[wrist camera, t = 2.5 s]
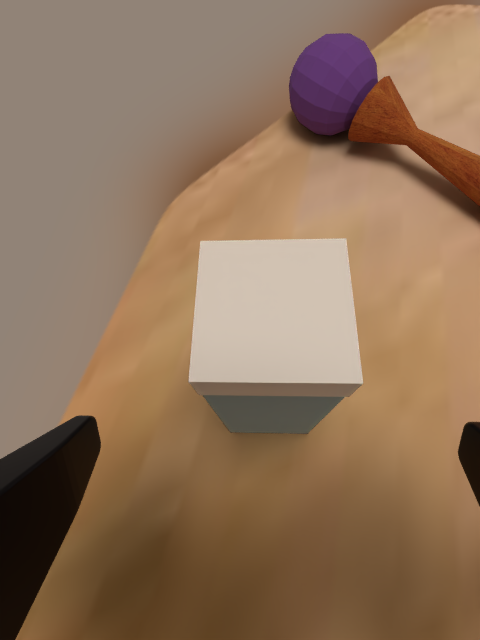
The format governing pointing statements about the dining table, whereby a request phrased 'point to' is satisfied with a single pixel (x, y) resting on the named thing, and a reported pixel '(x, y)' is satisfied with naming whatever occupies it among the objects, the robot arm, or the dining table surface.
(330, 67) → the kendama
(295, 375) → the box with white lid
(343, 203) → the dining table surface
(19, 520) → the robot arm
